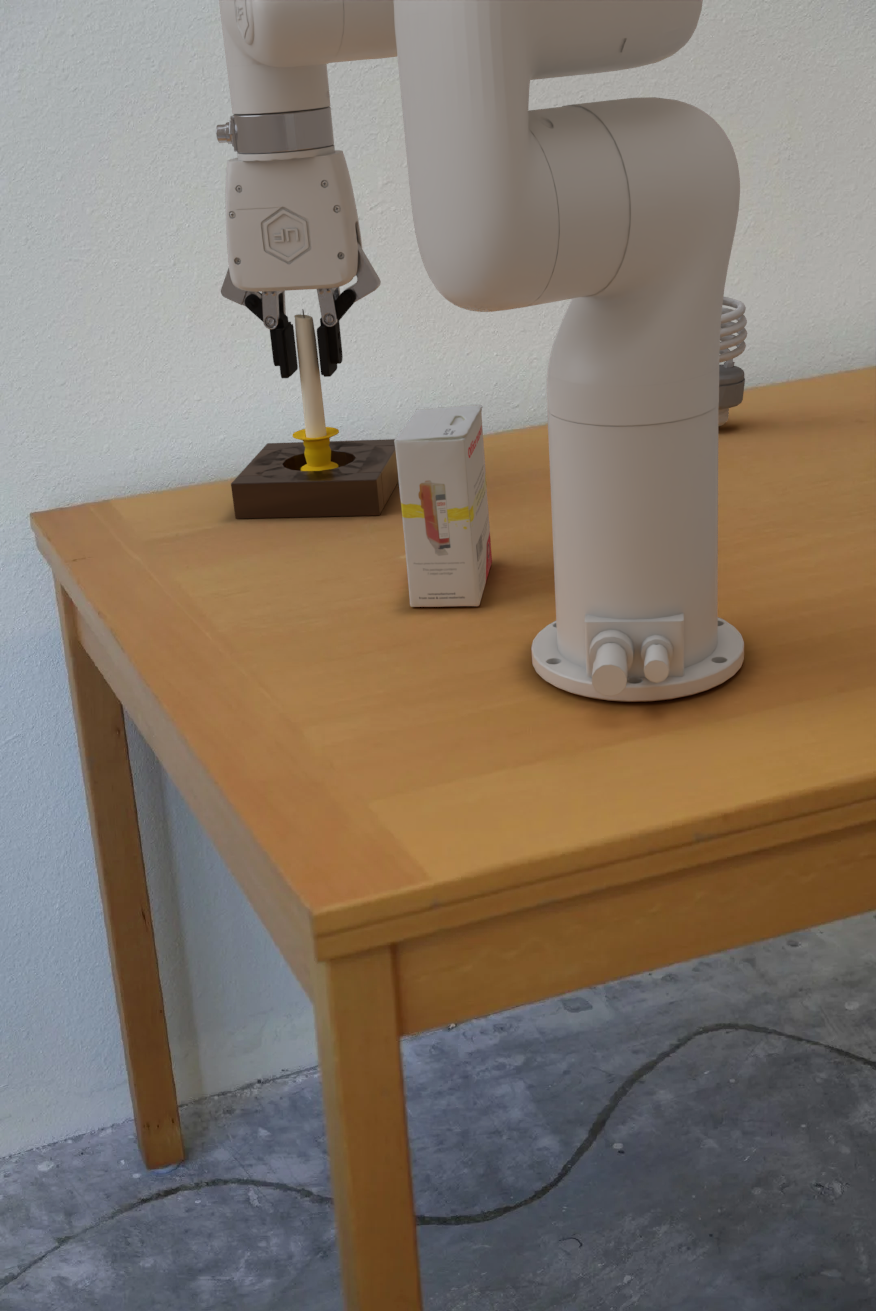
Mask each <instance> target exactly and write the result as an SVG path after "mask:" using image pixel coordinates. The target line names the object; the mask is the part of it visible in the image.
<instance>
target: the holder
mask: <svg viewBox="0 0 876 1311" xmlns="http://www.w3.org/2000/svg"><path fill="white" fill-rule="evenodd" d="M395 439H396V438H392V439H391V438H390V439H389V438H388V439H387V438H386V439H361V440H360V439H357V440H333V441H332V440H330V444H329V446H330V449H331V462H334V463H337V464H338V468H334V469H328V470H321V471H301V470H300V469H301V467H302V466H304V465H306V464H307V462H306V458H305V455H304V452H305V446H304V444H303V441H297V442H296V441H295V442H294V441H293V442H269V443H266V444H265V445H264V446H263V447H262V449H261V450H260V451H259V452H258V453H257V454H256V455H255V456H254V457H253V458H252V460H251V461H250V462H249V463H248V464H247V465H246V466H245V468H244V469H243V470H242V471H241V472H240V473H239V474H238V475H237V476H236V478H234V480H233V481H232V482H231V483H230V488H231V495H232V503H233V511H234V512H233V513H234V518H235V519H237V520H238V519H239V520H240V519H241V520H243V519H279V518H280V519H281V518H282V519H283V518H287V519H288V518H320V517H323V518H324V517H326V518H327V517H329V518H330V517H364V516H365V517H366V516H380V515H381V513H383V510H384V508H385V506H386V504H387V502H388V501H389V499H390V497H391V495H392V494H393V492H394V490H395V489H396V488H397V487H396V486H397V485H398V484H399V479H398V469H397V460H396V450H395V443H394V440H395Z"/></svg>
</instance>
